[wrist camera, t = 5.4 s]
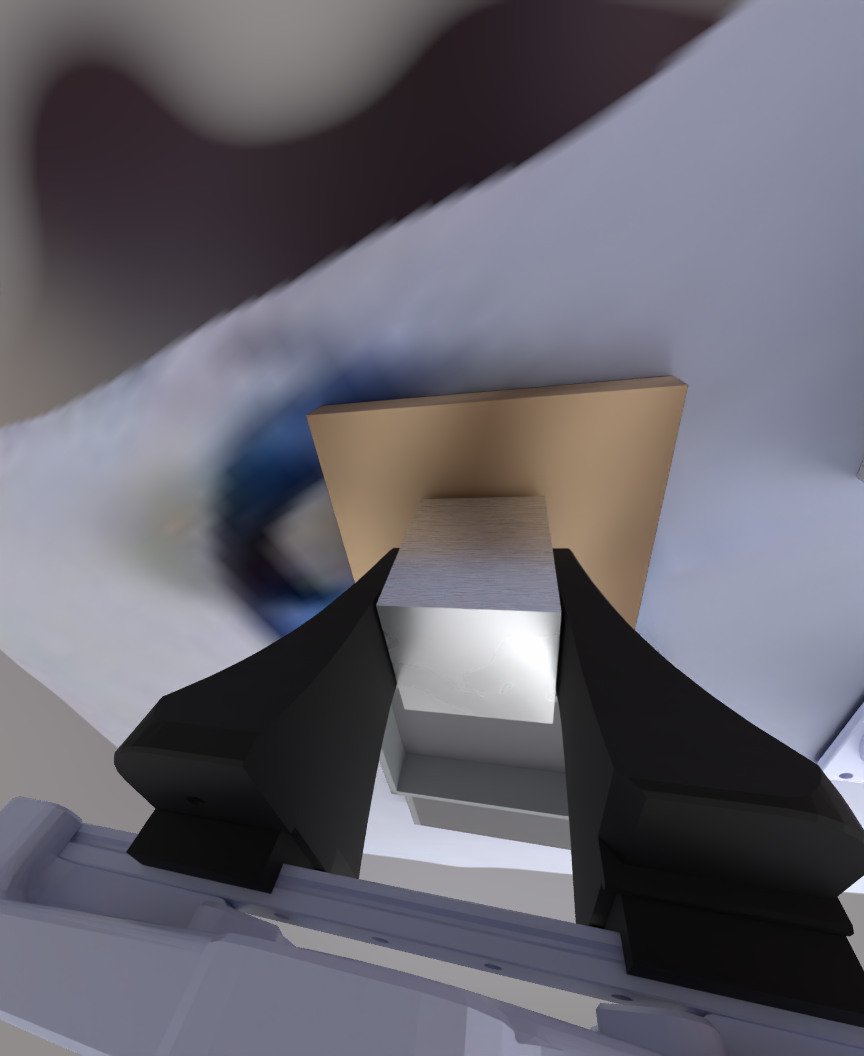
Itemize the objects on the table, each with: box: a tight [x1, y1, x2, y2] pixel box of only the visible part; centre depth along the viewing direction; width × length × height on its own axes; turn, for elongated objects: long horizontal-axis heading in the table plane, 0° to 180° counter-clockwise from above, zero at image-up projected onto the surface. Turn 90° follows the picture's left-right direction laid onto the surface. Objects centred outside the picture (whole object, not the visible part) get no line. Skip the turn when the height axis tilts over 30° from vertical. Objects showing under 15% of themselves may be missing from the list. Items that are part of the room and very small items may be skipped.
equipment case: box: [379, 683, 571, 850], centre depth 22 cm, size 13×19×2 cm
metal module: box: [376, 496, 561, 724], centre depth 11 cm, size 4×4×5 cm
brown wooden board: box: [306, 376, 688, 630], centre depth 14 cm, size 11×9×1 cm
